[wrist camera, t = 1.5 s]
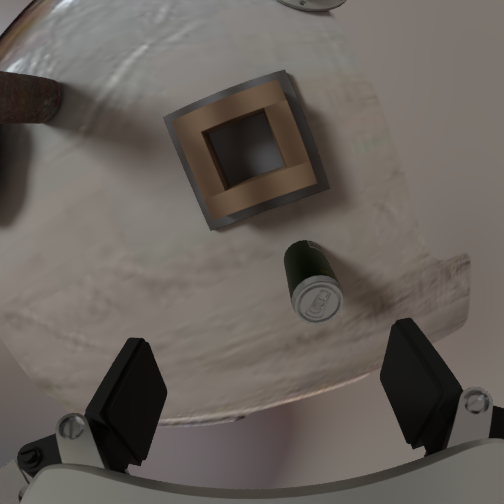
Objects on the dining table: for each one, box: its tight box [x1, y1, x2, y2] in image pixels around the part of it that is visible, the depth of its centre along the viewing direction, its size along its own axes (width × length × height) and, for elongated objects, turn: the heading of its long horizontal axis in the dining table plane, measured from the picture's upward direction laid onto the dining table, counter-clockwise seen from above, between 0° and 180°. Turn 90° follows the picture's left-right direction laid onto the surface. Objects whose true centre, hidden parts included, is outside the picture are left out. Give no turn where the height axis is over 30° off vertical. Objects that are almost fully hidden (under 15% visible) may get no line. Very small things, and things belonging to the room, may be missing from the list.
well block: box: [163, 70, 330, 231], centre depth 30 cm, size 16×16×6 cm
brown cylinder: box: [0, 71, 61, 124], centre depth 19 cm, size 8×7×20 cm
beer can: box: [284, 240, 343, 325], centre depth 32 cm, size 5×5×12 cm
